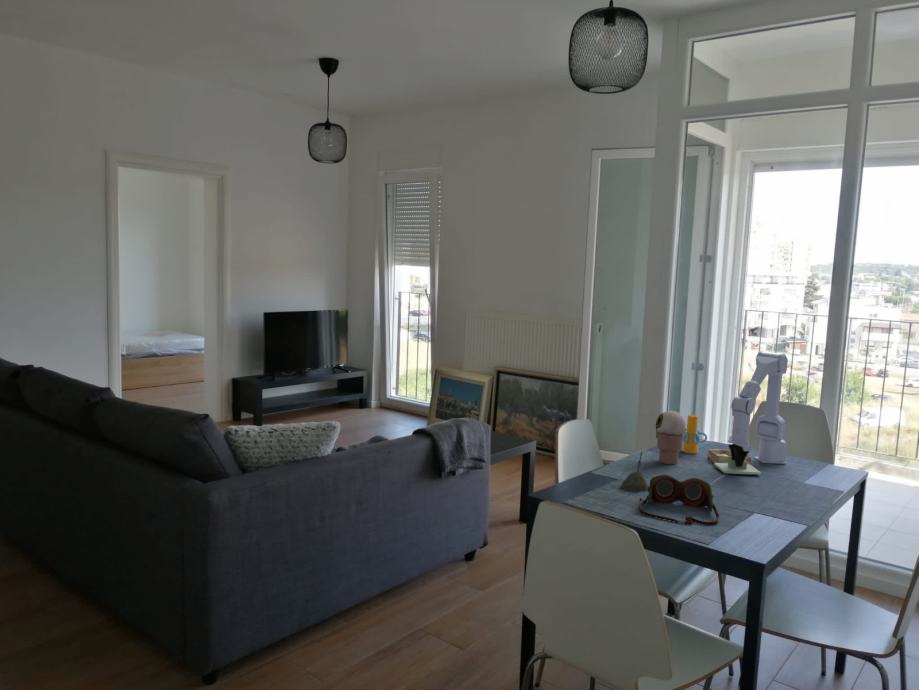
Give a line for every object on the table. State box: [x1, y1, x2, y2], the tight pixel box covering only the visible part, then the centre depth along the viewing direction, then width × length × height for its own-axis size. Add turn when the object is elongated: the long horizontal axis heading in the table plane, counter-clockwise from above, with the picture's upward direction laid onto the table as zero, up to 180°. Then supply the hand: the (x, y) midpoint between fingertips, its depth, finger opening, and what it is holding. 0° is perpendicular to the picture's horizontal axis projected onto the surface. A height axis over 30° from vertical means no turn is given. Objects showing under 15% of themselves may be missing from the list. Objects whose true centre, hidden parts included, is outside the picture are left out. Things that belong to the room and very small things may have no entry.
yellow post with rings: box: [681, 414, 708, 454], centre depth 289 cm, size 12×10×15 cm
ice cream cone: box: [655, 410, 687, 465], centre depth 272 cm, size 11×11×20 cm
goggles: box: [637, 474, 720, 526], centre depth 218 cm, size 24×24×10 cm
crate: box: [707, 448, 752, 466], centre depth 277 cm, size 13×10×4 cm
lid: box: [713, 460, 762, 476], centre depth 264 cm, size 13×10×4 cm
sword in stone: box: [619, 451, 649, 493], centre depth 239 cm, size 10×8×12 cm
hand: (737, 465), depth 264 cm, fingers closed on lid, 2 cm apart
